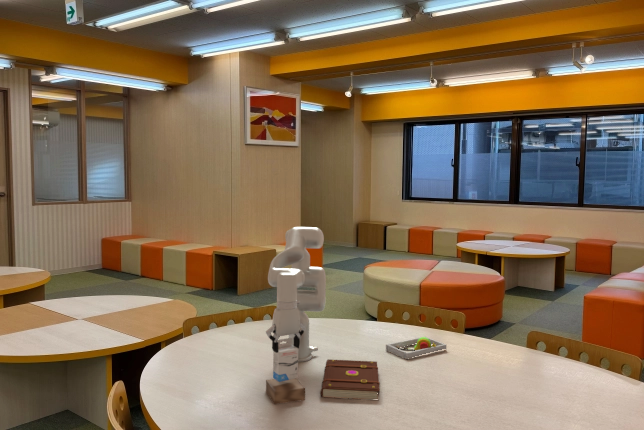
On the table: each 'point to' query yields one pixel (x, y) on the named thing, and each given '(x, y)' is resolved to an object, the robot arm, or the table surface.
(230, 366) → the table surface
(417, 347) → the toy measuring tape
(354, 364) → the book
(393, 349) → the grey plastic rim
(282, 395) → the walnut block
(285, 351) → the ink box
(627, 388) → the table surface
